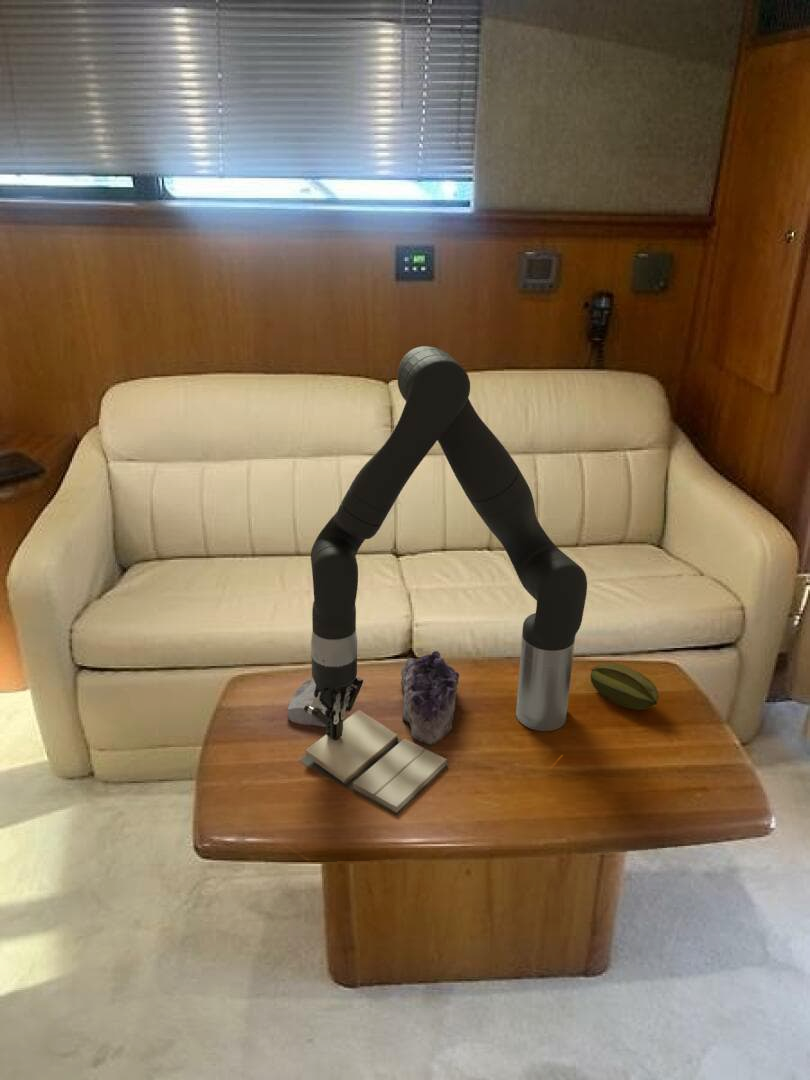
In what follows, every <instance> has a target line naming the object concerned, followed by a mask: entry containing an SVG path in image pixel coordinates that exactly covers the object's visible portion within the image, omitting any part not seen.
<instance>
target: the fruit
mask: <svg viewBox="0 0 810 1080" xmlns="http://www.w3.org/2000/svg"><path fill="white" fill-rule="evenodd" d="M589 677H590V678H589V679H590V682H591V684H592V686H593V688H595V690H596V691H597V692H598V694H600V695H601V696H602V697H603V698H605V699H606V700H608V701H611V702H612V703H613V704H615V705H618V706H620V707H622V708H626V709H629V710H630V709H631V710H638V711H639V710H641V711H642V710H645V709H649V708H651V707H653V706H654V705H655V706H656V705H659V703H658V699H659V693H658V692H659V691H658V689H657V687H656V685H655V684H654V682H653V681H651V680H650V679H648V677H646V676H645V675H644V674H642V673H640V672H639V671H636V670H635V669H632V668H630V667H628V666H626V665H623V664H620V663H614V662H613V663H601V664H598V665H596V666H594V667H593V668H591V670H590V676H589Z"/></svg>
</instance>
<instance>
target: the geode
mask: <svg viewBox="0 0 810 1080" xmlns="http://www.w3.org/2000/svg"><path fill="white" fill-rule="evenodd" d="M400 670H401V671H400V675H401V681H400V685H401V690H402V693H403V702H402V703H403V704H402V706H403V707H402V721H403V722H405V723H408V724H409V726H410V733H411V738H412V740H415V741H417V742H420V743H422V744H423V745H426V746H427V745H428V746H430V747H432V746H434V745H435V744H437V743H439V742H440V741H441V740H443V739H444V738H445V737H446V736H447V735H449V733H450V732H452V729H453V722H454V713H455V710H456V696H457V691H458V684H459V678H460V675H461V674H459V673H458V672H457V671H456V670H455V668H453V667H452V666H449V665H448V664H447V663H446V662H445V658H444V657H443V658H442V657H441V653H440V652H439V651H438V650H435V651H432V652H431V654H426V655H422V657H420V658H412V657H410V658H407V659H406V661H405V662H404V664H403V665H402V667H401V669H400Z"/></svg>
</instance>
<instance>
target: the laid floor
mask: <svg viewBox="0 0 810 1080" xmlns="http://www.w3.org/2000/svg"><path fill="white" fill-rule="evenodd" d="M298 762H299V763H301V764H303V765H304V766H307V767H308V768H311V769H312V770H314V771H316V772H317V773H319V774H321V775H323V776H325V777H326V778H328V779H330V780H332V781H333V782H335V783H336V784H338V785H341V786H343V787H344V788H345V789H348V790H350V791H352V793H354V794H357V795H359V796H360V797H361V798H363V799H366V800H367V801H369V802H371V803H373V804H374V805H376V806H378V807H380V808H382V809H383V810H385V811H387V812H389V813H390V814H392V815H394V816H396V817H397V816H398V815H399V814H400V813H401V812H402V811H403V810H404V809H405V808H406V807H407V806H408V805H409V804H410V803H411V802H412V801H414V800H415V799H416V797H418V795H420V793H421V792H423V791H424V790H425V789H426V788H427V787H428V786H429V785H430V784H431V783H432V782H434V780H435V779H436V778H437V777H438V776H439V775H440V774H441V773H443V771H444V770H446V769H447V768H448V766H449V765H450V763H449V762H448V758H445V757H444V756H441V755H440V754H437V753H436V752H432V751H431V750H429V749H427V748H426V747H422V746H421V745H418V744H416V743H415V742H412V741H410V740H409V739H406V738H403V739H400V738H398V741H397V742H396V743H394V744H393V745H392V746H391V747H390V748H389V749H387V750H386V751H385V752H384V753H383V754H381V755H380V756H379V757H378V758H377V759H376V760H374V761H373V762H372V763H371V764H370V765H369V766H367V767H366V768H365V769H364V770H363V771H362V772H360V773H359V774H358V775H357V776H356V777H354V778H353V779H352V780H351V781H350V782H349V783H347V784H345V783H343V782H342V781H341V780H339V779H338V778H336V777H335V776H334V775H332V774H331V773H329V772H328V771H327V770H325V769H324V768H322V767H321V766H320V765H318V764H317V763H315V762H314V761H313V760H311V759H310V758H308V757H307V756H306V755H304V756H303V757H302V758H300V760H299V761H298Z"/></svg>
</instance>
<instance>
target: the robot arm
mask: <svg viewBox="0 0 810 1080" xmlns="http://www.w3.org/2000/svg"><path fill="white" fill-rule="evenodd" d="M396 376H397V387H398V390H399V394H401V396H402V398H403V399H404V401H405V404H404V407H403V409H402V412H401V414H400V417H399V420H398V422H397V424H396V425H395V428H394V430H392V433H391V435H390V436H389V437H388V438H387V440H386V442H385V443H384V444H383V445H382V446H381V447H380V448H379V450H377V452H376V453H375V454H373V456H372V457H371V458H370V459H368V461H367V462H366V463H365V465H364V466H362V468H361V469H360V470H359V471H358V473H357V475H355V478H354V480H353V481H352V483H351V484H350V486H349V488H348V490H347V492H346V493H345V495H344V497H343V498H342V501H341V503H340V505H339V507H338V509H337V511H336V512H335V514H333V516H332V517H331V518H330V519H329V521H328V522H327V523H326V524H325V526H324V527H323V528H322V530H321V531H320V533H319V534H317V537H316V538H315V541H314V542H313V545H312V548H311V551H310V562H311V573H312V574H311V575H312V587H313V602H312V608H311V609H312V611H311V612H312V615H311V617H312V631H311V632H312V633H311V644H310V648H311V649H310V650H311V655H310V656H311V677H312V678H313V679H314V682H315V684H316V688H315V691H314V697H315V699H314V701H313V702H312V704H311V706H310V705H309V704H307V705H306V706H305V708H304V711H305V712H307V713H308V714H309V715H311V716H312V717H313V718H314V719H316V720H317V721H319V722H320V723H322V724H324V725H326V727H325V735H327V736H328V737H330V738H332V739H333V740H337V739H338V738H340V737H341V736H342V731H343V721H344V720H345V717H346V713H348V712H349V713H350V712H351V711H352V709H353V707H354V705H355V703H356V700H357V698H358V695H359V693H360V692H361V688H362V685H363V683H364V679H362V678H361V677H358V676H357V675H358V637H357V625H356V624H357V608H356V601H357V596H358V594H357V593H358V585H359V565H358V561H357V553H358V552H359V549H360V548H361V547H362V544H363V543H364V542H365V540H369V539H371V538H373V537H374V536H375V535H376V534H377V533H378V531H379V530H380V529H381V527H382V525H383V523H384V521H385V519H386V517H387V516H388V514H389V512H390V511H391V510H392V507H393V505H394V504H395V502H396V500H397V499H398V498H399V496H400V493H401V492H402V491H403V489H404V487H405V485H406V484H407V482H408V481H409V479H410V478H411V476H412V475H413V474H414V472H415V471H416V469H417V467H418V466H419V465H420V464H421V463H422V461H423V460H424V459H425V458H426V456H427V455H428V453H429V452H430V450H432V448H433V447H434V446H435V444H436V443H437V442H438V444H439V446H440V447H441V448H440V449H442V452H443V454H444V456H445V458H446V460H447V462H448V464H449V466H450V468H451V470H452V472H453V475H454V476H455V477H456V479H457V482H458V483H459V485H460V487H461V489H462V490H463V492H464V493H465V496H466V497H467V499H468V500H469V502H470V503H471V505H472V506H473V508H474V510H475V512H476V513H477V514H478V516H479V517H480V519H482V521H483V523H484V524H485V525H486V526H487V528H488V529H489V531H490V532H491V533H492V534H493V535H494V537H496V539H497V540H498V541H499V542H500V544H501V545H502V547H503V548H504V550H505V552H506V553H507V556H508V558H509V560H510V562H511V564H512V566H513V569H514V570H515V573H516V575H517V577H518V579H519V582H520V583H521V584H522V588H524V589H525V590H526V592H527V593H528V594H530V595H529V596H531V597H532V598H533V599H534V600H535V601H536V609H535V613H531V614H530V615H528V616H526V617H525V619H524V621H523V624H522V632H521V633H522V634H521V644H520V645H521V646H520V657H519V658H520V659H519V671H518V672H519V673H518V686H517V696H516V711H515V715H516V718H517V720H518V721H519V723H521V724H522V725H523V726H524V727H526V728H529V729H530V730H534V731H538V732H539V731H540V732H550V731H555V730H557V729H558V730H559V729H560V728H561V727H563V726H564V725H565V723H566V721H567V713H568V712H567V711H568V705H569V696H570V687H571V677H572V671H573V661H574V651H575V641H576V635H577V633H578V631H579V630H580V628H581V625H582V622H583V616H584V610H585V606H586V605H585V604H586V599H587V594H588V593H587V591H588V580H587V578H588V577H587V575H586V572H585V570H584V569H583V568H582V567H581V566H580V565H579V564H578V563H576V562H575V561H574V560H573V559H571V557H569V556H568V555H567V554H566V553H564V552H563V551H562V550H560V549H559V547H557V546H556V544H555V543H554V542H553V541H552V539H551V538H550V537H549V536H548V534H547V533H546V532H545V530H544V529H543V527H542V525H541V523H540V522H539V521H538V518H537V514H536V507H535V502H534V496H533V493H532V491H531V489H530V486H529V484H528V482H527V480H526V479H525V477H524V475H523V473H522V472H521V470H520V468H519V467H518V465H517V464H516V462H515V460H514V458H513V457H512V455H510V453H509V452H508V450H507V449H506V447H504V445H503V444H502V442H501V441H500V440H499V438H498V437H497V436H496V435H495V434H494V433H493V432H492V430H491V429H490V428H489V427H488V426H487V424H485V422H484V421H483V420H482V419H481V417H480V416H479V414H478V413H477V412H476V409H475V408H474V406H473V404H472V402H471V401H470V399H469V396H470V393H471V381H470V378H469V374H468V373H467V371H466V370H465V368H464V367H463V365H461V364H460V363H459V362H458V361H456V359H454V358H453V357H452V356H451V355H450V354H449V353H448V352H446V351H444V350H443V349H440V348H437V347H434V346H427V345H426V346H424V345H423V346H418V347H415V348H413V349H411V350H409V351H408V352H407V353H406V354H405V355H404V356H403V358H402V359H401V361H400V363H399V365H398V369H397V375H396ZM322 712H323V713H322ZM330 713H331V714H330Z"/></svg>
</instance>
